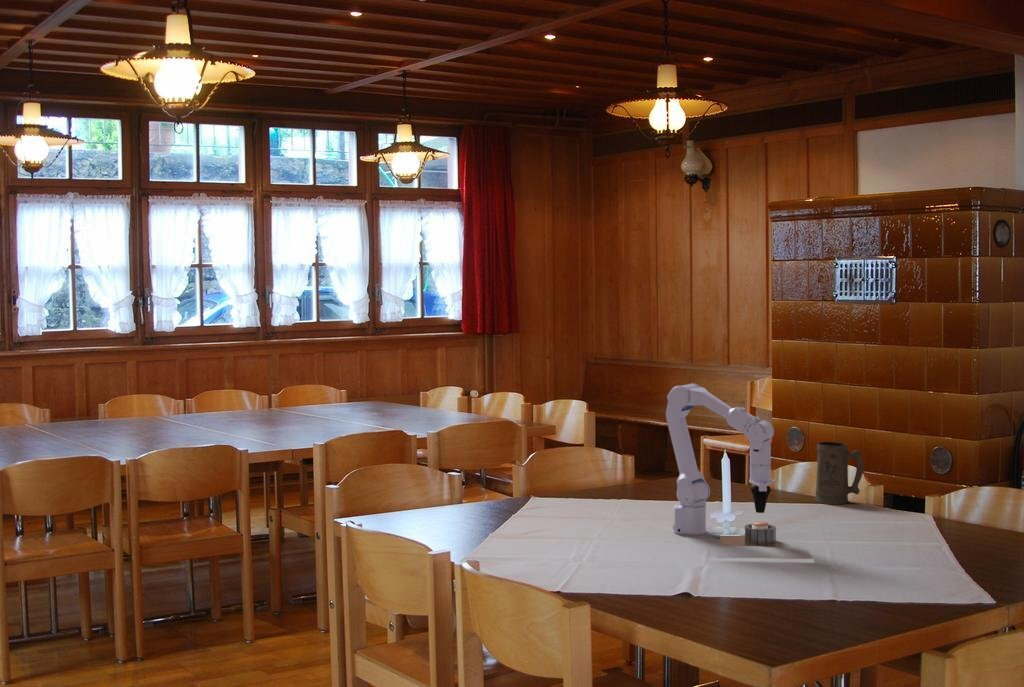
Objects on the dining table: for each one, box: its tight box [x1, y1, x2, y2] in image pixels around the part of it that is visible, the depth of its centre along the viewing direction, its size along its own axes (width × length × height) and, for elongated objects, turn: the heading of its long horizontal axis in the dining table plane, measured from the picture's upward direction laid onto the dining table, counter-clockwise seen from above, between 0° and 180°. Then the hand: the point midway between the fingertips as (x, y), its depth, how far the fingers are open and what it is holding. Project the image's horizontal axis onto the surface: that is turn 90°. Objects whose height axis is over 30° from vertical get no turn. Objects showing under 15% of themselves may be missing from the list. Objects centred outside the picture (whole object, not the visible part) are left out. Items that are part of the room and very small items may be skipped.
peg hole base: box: [718, 523, 778, 547], centre depth 327 cm, size 15×13×5 cm
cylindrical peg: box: [751, 521, 769, 529], centre depth 327 cm, size 4×4×5 cm
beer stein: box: [814, 441, 864, 505], centre depth 388 cm, size 15×11×20 cm
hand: (760, 512), depth 327 cm, fingers closed
